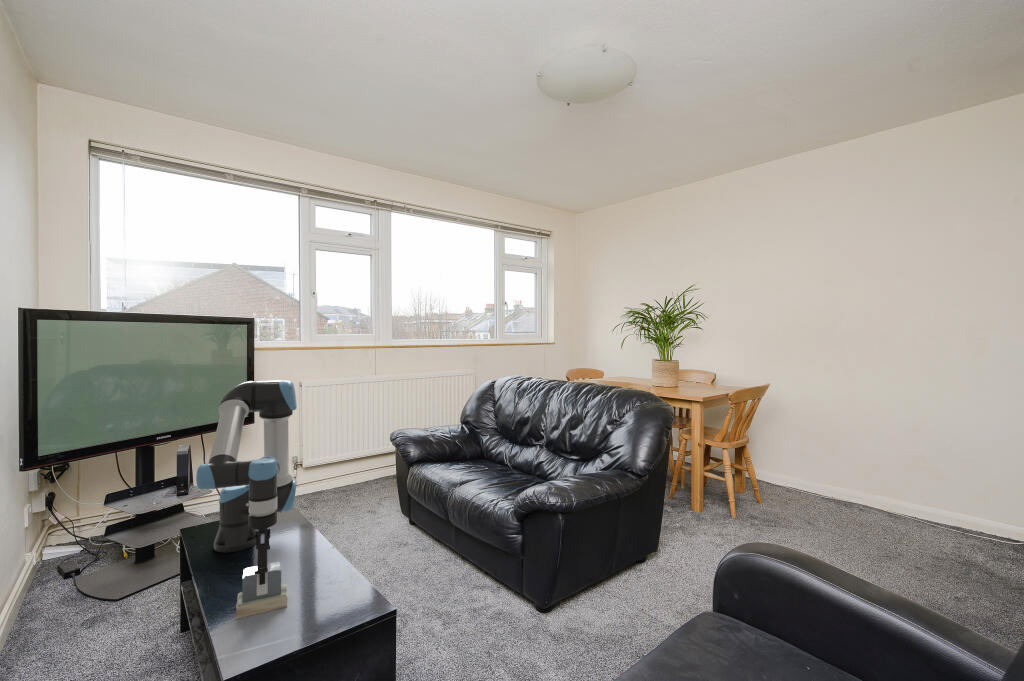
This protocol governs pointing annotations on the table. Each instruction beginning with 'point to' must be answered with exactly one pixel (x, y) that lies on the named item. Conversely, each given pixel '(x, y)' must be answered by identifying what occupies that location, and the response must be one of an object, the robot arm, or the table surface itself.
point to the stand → (261, 604)
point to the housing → (251, 582)
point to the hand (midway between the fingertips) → (262, 583)
